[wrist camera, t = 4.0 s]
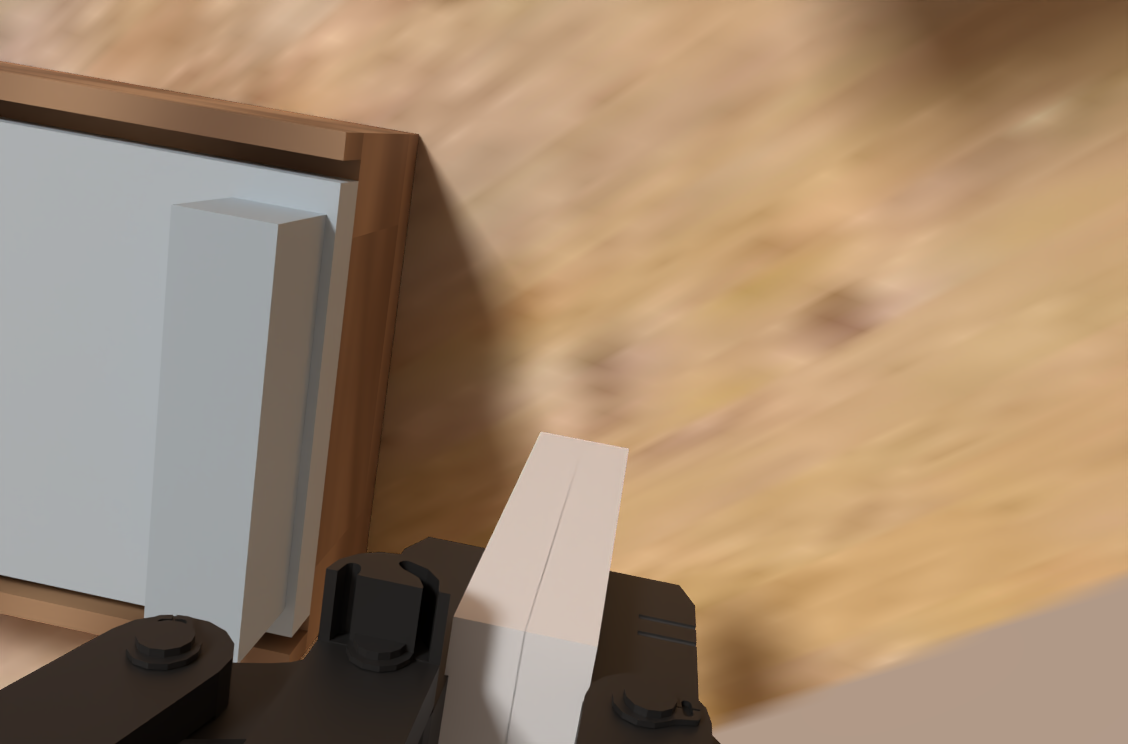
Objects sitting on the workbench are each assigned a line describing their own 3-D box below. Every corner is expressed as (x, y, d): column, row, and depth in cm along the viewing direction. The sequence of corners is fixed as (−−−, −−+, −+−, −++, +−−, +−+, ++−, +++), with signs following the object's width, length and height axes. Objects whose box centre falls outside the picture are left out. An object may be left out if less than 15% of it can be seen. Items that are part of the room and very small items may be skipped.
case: (418, 134, 22) (346, 132, 17) (363, 572, 25) (287, 676, 20) (-230, 20, 23) (-468, -12, 18) (-216, 451, 26) (-420, 521, 21)
